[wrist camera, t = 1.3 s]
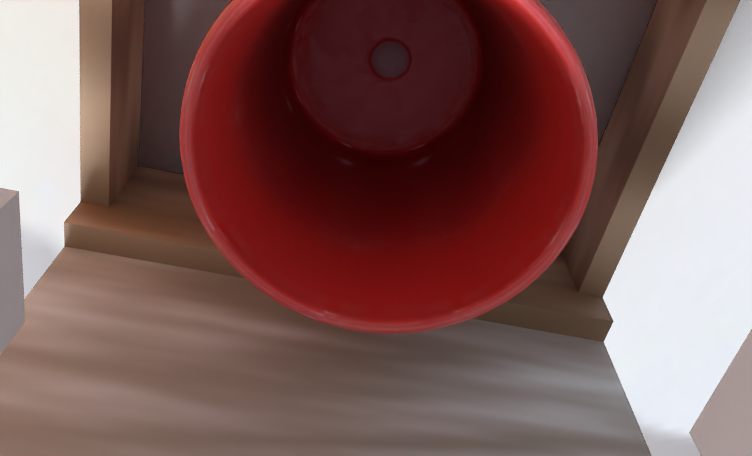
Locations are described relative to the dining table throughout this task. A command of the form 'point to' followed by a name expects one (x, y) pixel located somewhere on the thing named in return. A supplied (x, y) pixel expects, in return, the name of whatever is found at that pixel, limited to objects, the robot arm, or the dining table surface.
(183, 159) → the flower pot
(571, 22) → the dining table surface
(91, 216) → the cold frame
